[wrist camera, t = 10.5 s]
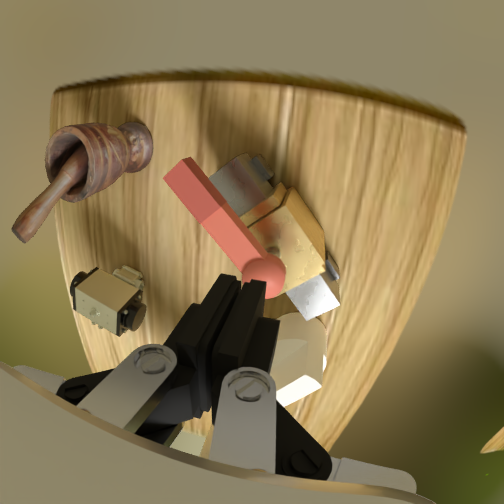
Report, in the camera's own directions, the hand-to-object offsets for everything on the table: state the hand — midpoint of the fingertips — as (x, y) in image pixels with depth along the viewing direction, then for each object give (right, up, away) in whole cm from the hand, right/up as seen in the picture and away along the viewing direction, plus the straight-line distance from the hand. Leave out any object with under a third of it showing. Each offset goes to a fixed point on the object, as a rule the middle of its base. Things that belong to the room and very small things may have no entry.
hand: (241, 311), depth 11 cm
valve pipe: (+4, +6, +27) cm, 28 cm away
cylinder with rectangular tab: (+7, -11, +34) cm, 36 cm away
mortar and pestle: (-17, +15, +28) cm, 36 cm away
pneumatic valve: (-20, -2, +37) cm, 41 cm away
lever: (-1, +4, +15) cm, 16 cm away
